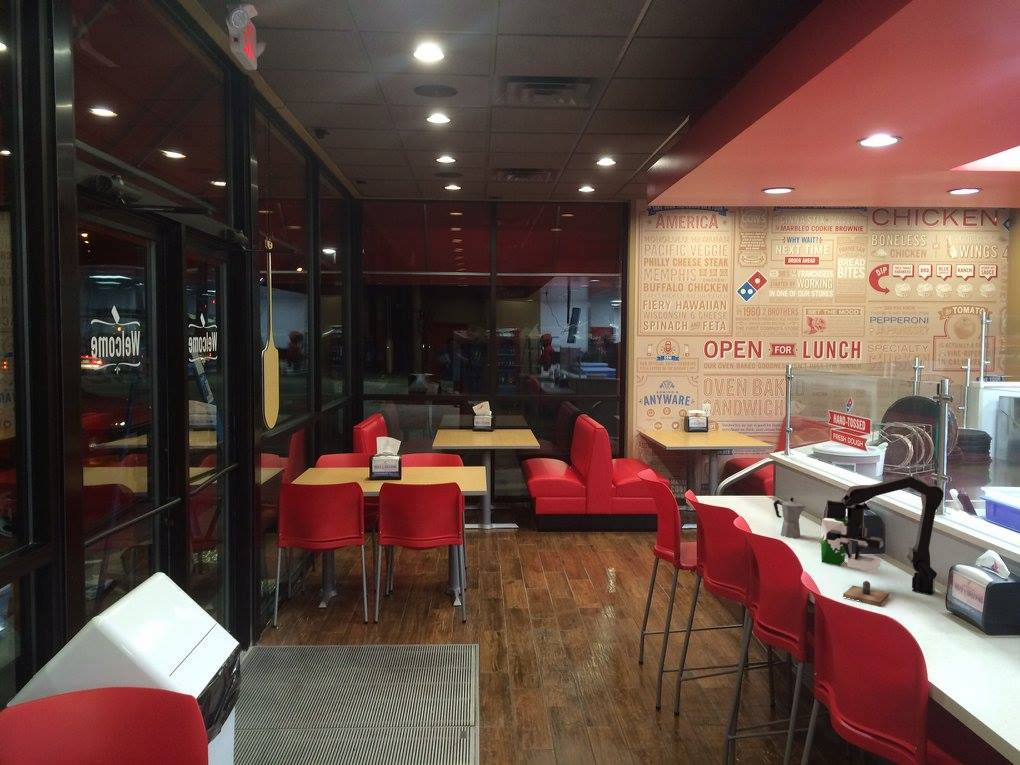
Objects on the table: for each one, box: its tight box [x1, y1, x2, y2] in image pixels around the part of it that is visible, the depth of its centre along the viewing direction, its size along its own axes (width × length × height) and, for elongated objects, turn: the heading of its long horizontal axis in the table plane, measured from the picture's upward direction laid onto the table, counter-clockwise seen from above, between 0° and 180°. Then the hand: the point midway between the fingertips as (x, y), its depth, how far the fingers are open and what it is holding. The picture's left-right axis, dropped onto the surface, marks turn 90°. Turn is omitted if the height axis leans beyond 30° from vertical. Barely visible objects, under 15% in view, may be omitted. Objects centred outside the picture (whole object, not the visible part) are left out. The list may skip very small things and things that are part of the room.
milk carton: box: [820, 516, 847, 567], centre depth 299 cm, size 9×9×20 cm
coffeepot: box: [773, 497, 807, 539], centre depth 341 cm, size 15×9×18 cm, turn 44°
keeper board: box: [842, 580, 890, 607], centre depth 258 cm, size 12×12×6 cm
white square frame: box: [847, 553, 882, 573], centre depth 270 cm, size 9×9×3 cm
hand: (853, 561), depth 272 cm, fingers closed on white square frame
